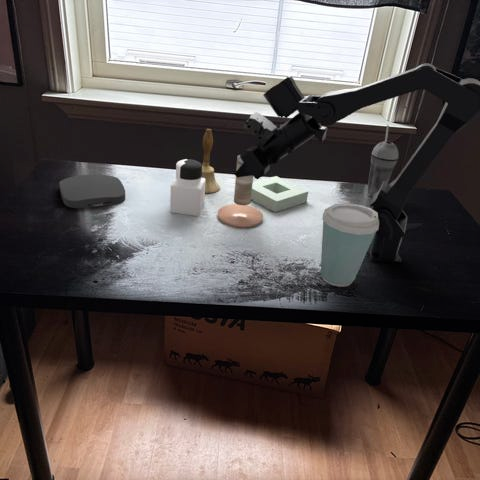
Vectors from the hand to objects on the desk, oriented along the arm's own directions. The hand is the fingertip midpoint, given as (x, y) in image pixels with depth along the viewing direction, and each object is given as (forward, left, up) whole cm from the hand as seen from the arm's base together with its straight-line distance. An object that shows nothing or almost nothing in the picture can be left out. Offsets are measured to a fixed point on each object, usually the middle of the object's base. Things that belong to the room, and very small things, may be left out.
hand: (239, 172), depth 109 cm
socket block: (+12, -10, -11) cm, 20 cm away
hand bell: (+15, +9, -11) cm, 21 cm away
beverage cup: (+21, -39, -11) cm, 46 cm away
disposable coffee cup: (-24, -21, -11) cm, 34 cm away
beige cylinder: (-1, -1, -7) cm, 7 cm away
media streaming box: (+4, +36, -12) cm, 38 cm away
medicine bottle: (+1, +12, -11) cm, 16 cm away
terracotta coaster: (-1, -1, -11) cm, 11 cm away
